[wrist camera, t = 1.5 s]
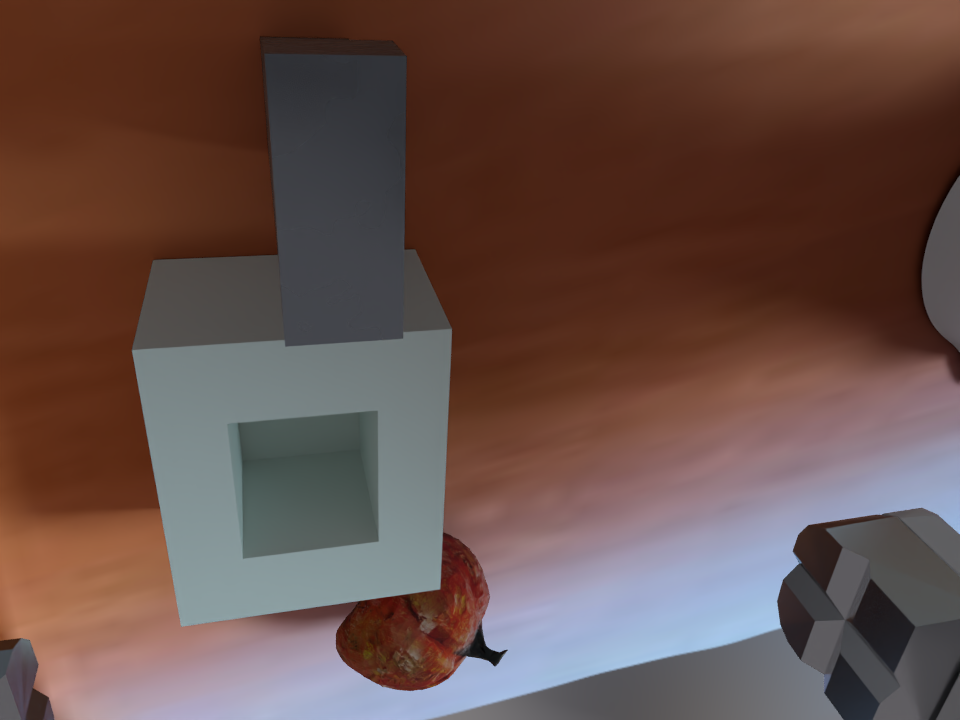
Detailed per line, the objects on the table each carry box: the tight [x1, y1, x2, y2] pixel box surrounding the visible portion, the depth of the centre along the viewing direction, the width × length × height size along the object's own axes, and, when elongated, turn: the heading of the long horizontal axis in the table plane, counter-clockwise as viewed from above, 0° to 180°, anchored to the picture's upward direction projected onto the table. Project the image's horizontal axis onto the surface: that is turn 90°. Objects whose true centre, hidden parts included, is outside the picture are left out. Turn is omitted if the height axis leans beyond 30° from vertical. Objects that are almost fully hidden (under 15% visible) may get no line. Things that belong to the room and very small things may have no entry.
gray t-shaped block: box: [260, 37, 407, 347], centre depth 24 cm, size 3×7×12 cm, turn 177°
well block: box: [132, 249, 452, 627], centre depth 32 cm, size 10×12×7 cm
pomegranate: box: [336, 532, 507, 691], centre depth 38 cm, size 7×7×10 cm
